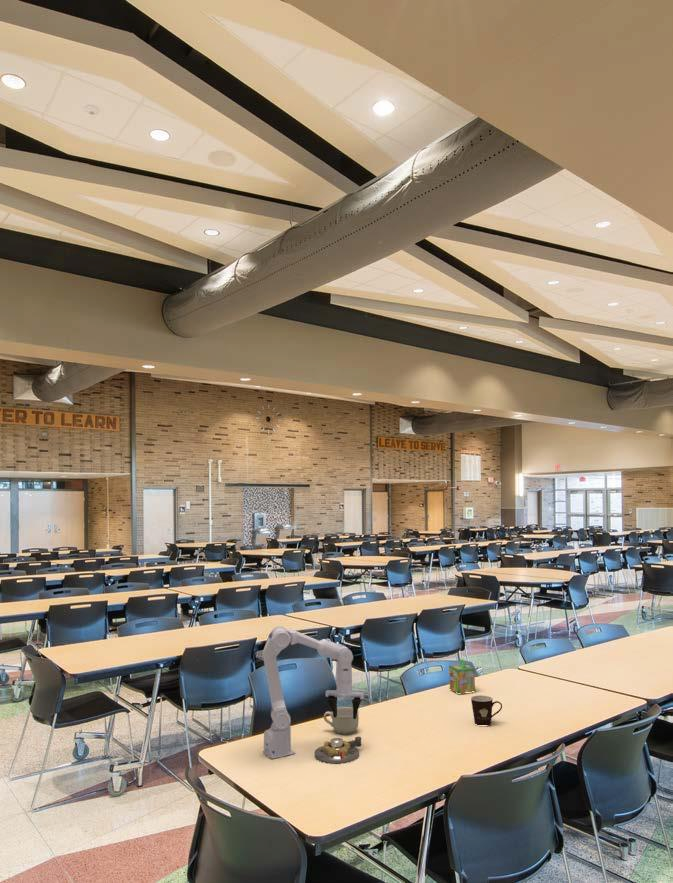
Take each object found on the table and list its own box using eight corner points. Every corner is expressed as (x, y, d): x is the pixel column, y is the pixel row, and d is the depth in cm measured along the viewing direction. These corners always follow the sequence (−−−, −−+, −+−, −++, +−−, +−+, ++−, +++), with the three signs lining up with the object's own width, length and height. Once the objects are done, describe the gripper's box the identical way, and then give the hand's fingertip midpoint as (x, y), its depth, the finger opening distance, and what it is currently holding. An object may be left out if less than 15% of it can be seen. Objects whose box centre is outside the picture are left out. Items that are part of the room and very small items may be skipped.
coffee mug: (469, 725, 260) (468, 700, 261) (475, 719, 267) (474, 694, 269) (498, 729, 255) (497, 703, 256) (503, 723, 262) (502, 697, 263)
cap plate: (327, 767, 221) (327, 751, 222) (306, 752, 235) (306, 737, 235) (367, 757, 229) (367, 742, 229) (345, 744, 243) (344, 729, 243)
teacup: (362, 728, 260) (361, 707, 261) (355, 737, 250) (354, 715, 251) (328, 726, 264) (328, 705, 265) (321, 734, 253) (320, 713, 254)
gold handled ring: (331, 758, 226) (331, 748, 226) (319, 750, 234) (319, 741, 234) (367, 749, 233) (367, 740, 233) (354, 742, 241) (354, 733, 241)
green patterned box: (449, 690, 312) (448, 658, 313) (466, 688, 314) (465, 656, 316) (458, 695, 303) (457, 662, 304) (476, 693, 306) (474, 660, 307)
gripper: (322, 681, 241) (323, 719, 240) (360, 683, 237) (360, 722, 236) (328, 676, 248) (329, 713, 247) (365, 678, 244) (366, 716, 242)
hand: (345, 717), depth 241 cm, fingers open, 7 cm apart
